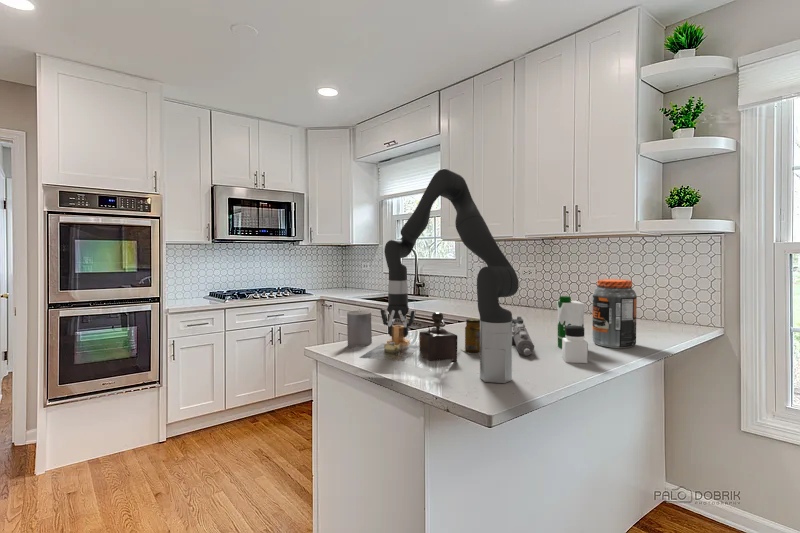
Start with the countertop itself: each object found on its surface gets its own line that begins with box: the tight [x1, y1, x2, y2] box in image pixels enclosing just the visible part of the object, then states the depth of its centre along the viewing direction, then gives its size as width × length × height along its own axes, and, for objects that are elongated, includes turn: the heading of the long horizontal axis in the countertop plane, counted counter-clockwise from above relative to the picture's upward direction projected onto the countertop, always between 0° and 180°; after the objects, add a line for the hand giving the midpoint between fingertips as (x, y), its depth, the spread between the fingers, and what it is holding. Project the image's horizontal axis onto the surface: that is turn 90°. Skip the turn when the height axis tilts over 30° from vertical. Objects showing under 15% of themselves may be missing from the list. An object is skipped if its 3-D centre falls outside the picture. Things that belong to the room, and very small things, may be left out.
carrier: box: [359, 341, 419, 362], centre depth 159 cm, size 24×16×7 cm, turn 163°
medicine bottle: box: [561, 325, 589, 364], centre depth 149 cm, size 7×7×12 cm
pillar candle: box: [346, 308, 373, 349], centre depth 174 cm, size 10×10×15 cm
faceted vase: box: [386, 324, 411, 347], centre depth 166 cm, size 8×8×7 cm
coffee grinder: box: [418, 311, 458, 364], centre depth 148 cm, size 16×11×18 cm
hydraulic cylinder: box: [512, 316, 535, 356], centre depth 170 cm, size 7×37×10 cm, turn 173°
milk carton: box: [556, 295, 585, 350], centre depth 167 cm, size 9×9×20 cm
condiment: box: [460, 318, 480, 355], centre depth 163 cm, size 7×8×12 cm
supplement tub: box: [592, 278, 638, 349], centre depth 173 cm, size 16×16×26 cm
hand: (398, 336), depth 166 cm, fingers open, 5 cm apart
